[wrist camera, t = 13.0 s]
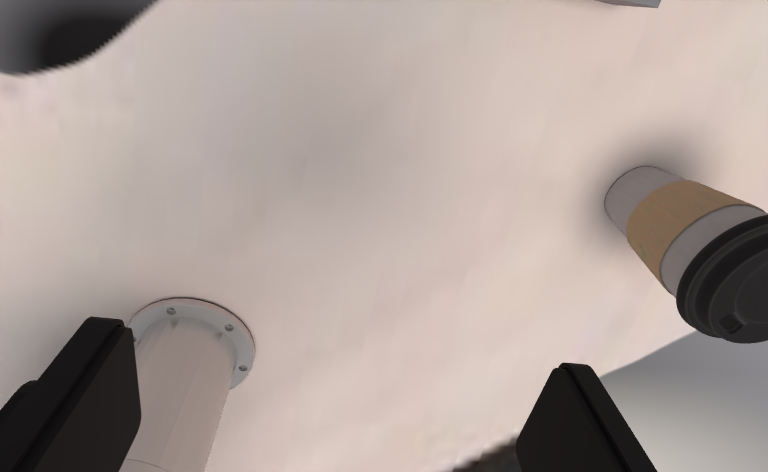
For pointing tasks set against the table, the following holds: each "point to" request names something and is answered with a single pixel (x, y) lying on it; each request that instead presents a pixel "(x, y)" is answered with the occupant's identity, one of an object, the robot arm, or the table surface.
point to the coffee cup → (698, 250)
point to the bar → (634, 3)
